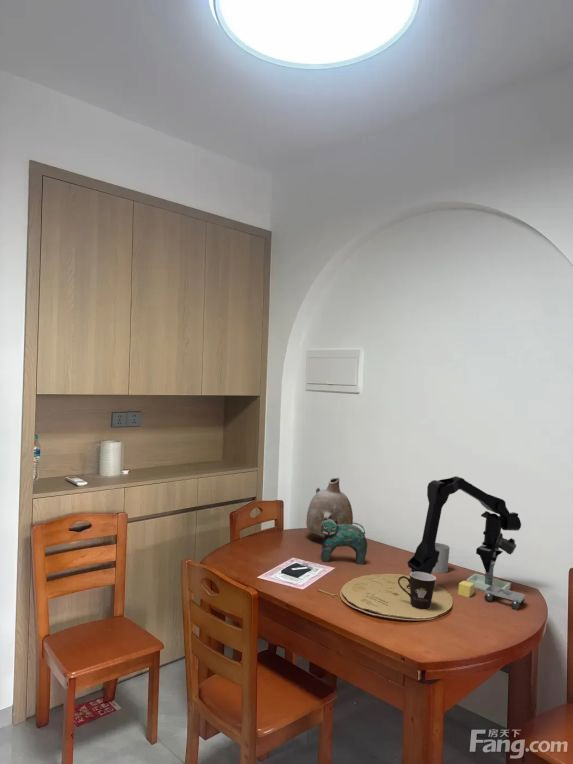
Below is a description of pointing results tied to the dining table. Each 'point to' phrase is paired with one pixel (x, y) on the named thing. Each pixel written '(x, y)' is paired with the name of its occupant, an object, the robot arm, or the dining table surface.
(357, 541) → the ceramic cat
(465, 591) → the yellow block
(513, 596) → the cart
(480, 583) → the tray
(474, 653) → the dining table surface
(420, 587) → the coffee mug
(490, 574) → the pin
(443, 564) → the cup
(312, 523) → the jug
